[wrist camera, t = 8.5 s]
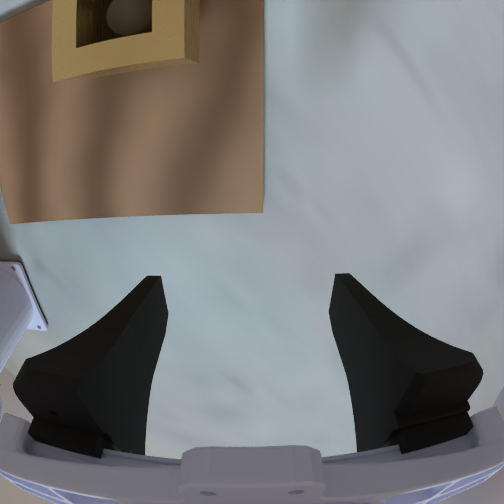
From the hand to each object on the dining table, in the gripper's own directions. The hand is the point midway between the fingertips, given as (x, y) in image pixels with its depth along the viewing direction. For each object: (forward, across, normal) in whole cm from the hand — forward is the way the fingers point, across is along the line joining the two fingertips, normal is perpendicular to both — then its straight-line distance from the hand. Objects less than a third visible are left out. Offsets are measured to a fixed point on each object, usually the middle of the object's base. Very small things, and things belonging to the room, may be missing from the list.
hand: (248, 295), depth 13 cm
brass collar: (+5, +5, -12) cm, 14 cm away
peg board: (+9, +9, -8) cm, 15 cm away
